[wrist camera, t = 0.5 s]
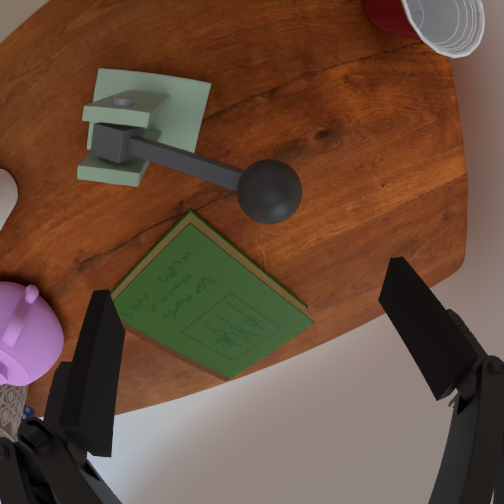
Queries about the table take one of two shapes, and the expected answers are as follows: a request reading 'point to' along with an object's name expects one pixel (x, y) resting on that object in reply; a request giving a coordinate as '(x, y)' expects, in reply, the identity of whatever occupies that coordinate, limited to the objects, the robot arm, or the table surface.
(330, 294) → the table surface
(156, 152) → the switch lever
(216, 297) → the book
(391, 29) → the plastic cup
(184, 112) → the switch bracket
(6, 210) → the cup
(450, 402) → the robot arm
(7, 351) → the teapot
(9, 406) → the planter
